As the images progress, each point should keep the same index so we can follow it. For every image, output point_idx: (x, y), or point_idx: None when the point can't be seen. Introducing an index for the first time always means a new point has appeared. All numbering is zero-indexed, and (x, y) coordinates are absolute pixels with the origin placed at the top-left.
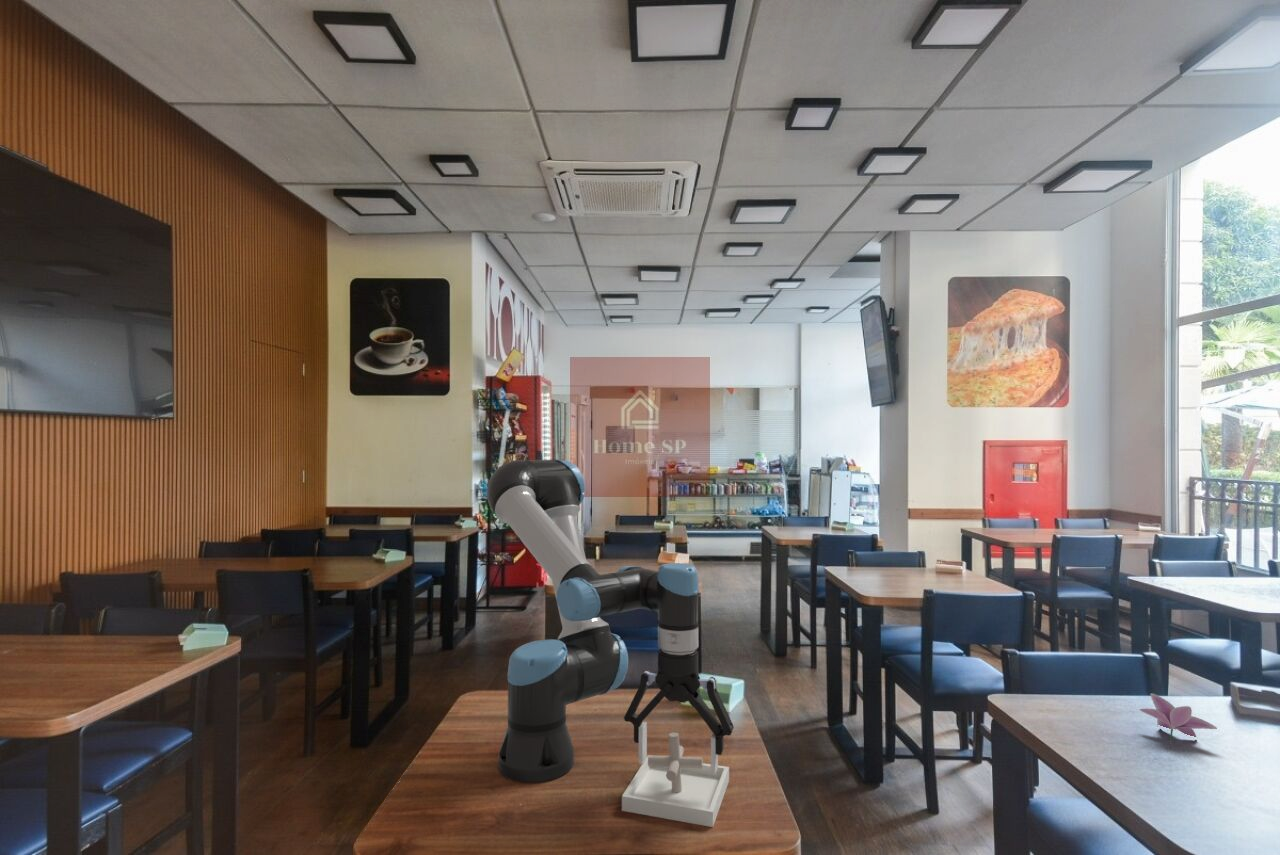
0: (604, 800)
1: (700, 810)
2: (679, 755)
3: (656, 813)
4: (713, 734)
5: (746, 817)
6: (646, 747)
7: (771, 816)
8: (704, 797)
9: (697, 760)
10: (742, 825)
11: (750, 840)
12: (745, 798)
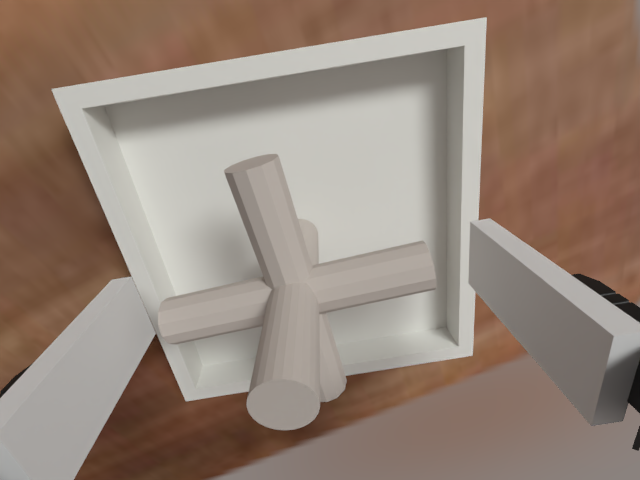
0: None
1: (434, 359)
2: (318, 312)
3: None
4: (610, 377)
5: (541, 246)
6: (107, 308)
7: (618, 207)
8: (405, 235)
9: (413, 292)
10: None
11: None
12: (534, 140)
